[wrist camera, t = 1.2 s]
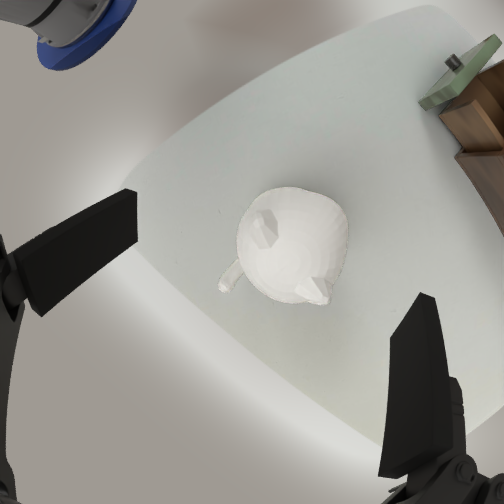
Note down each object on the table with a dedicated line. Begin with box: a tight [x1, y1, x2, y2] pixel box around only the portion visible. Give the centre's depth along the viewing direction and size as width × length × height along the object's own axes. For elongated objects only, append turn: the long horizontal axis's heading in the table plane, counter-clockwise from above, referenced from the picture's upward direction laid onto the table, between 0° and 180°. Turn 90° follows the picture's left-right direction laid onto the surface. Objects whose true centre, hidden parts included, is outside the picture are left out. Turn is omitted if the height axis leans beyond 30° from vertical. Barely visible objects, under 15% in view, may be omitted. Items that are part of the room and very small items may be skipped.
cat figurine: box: [218, 187, 349, 305], centre depth 24 cm, size 9×12×15 cm
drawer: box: [418, 34, 504, 153], centre depth 19 cm, size 15×10×8 cm
